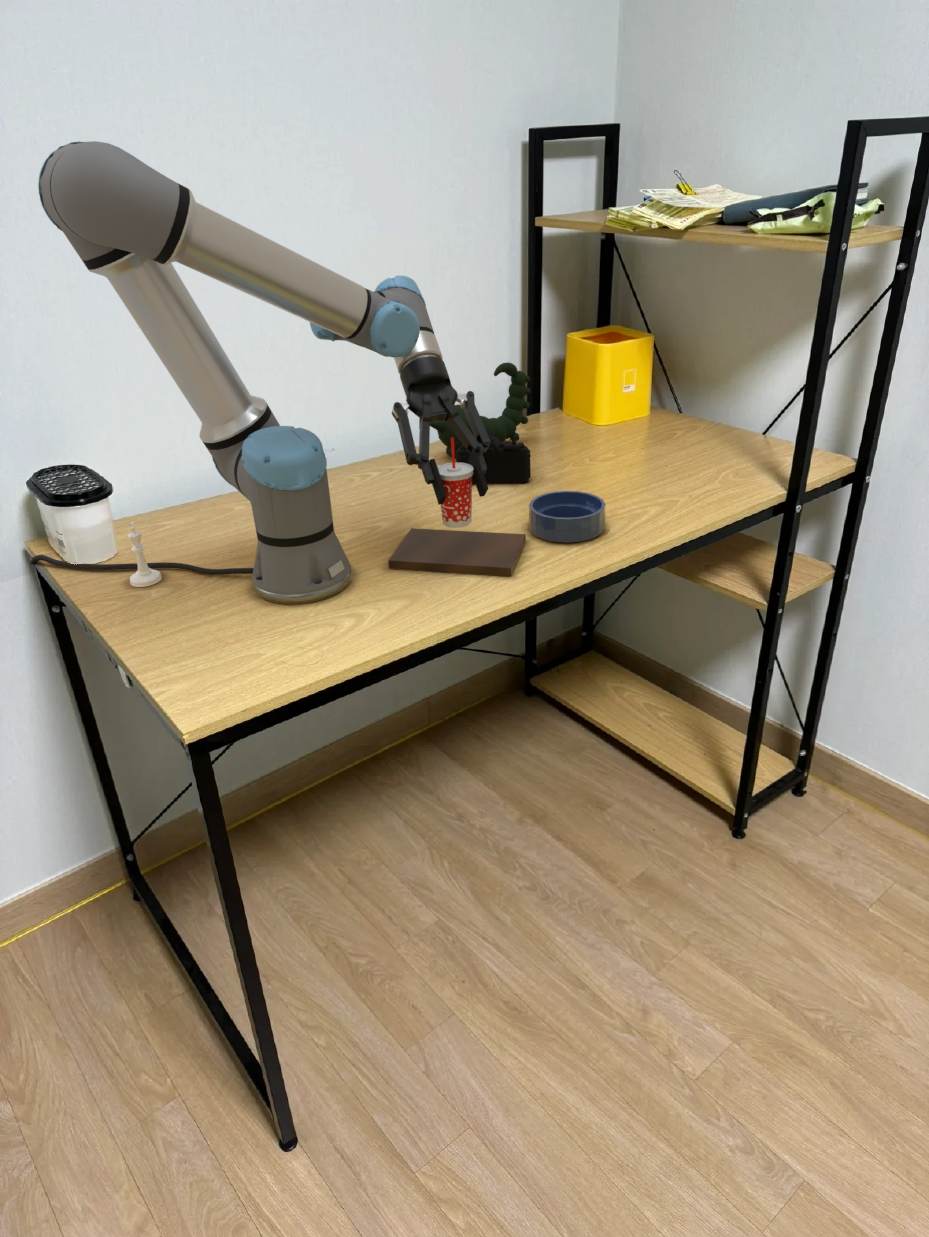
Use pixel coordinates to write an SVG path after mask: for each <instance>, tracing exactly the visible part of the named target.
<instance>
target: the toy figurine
mask: <svg viewBox="0 0 929 1237" xmlns="http://www.w3.org/2000/svg"><path fill="white" fill-rule="evenodd" d="M501 373H504V374H506V375H507V376H508V377H510V382H511V383H510V385H509V387H508V397H507V398H506V400H505V407H504V409H503V410H502V413H501V415H499V416H498V417H490V418H489V417H487V416H484V415H480V418H481V420H482V422H483V425H484V427H485V429H486V432H487V434H488V435H493V436H495V437H497V438H498V439H499V440H500V441H501V442H503V441H507V440H509V441H511V442H512V441H513V440H516V442H518V441H519V440H520V434H519V433H518V432H516V431H517V426H519V425H520V424H521V425H527V424H528V422H529V418H528V417H527V416H524V412H523V411H524V410H525V409H527V410H528V409H529V408H530V407H531V404H530V402H529V401H526V399H525V397H526V396H528V395H529V394H531V389H530V388H529V387H527V386H526V384H527V383H529V382H531V377H530V376H529V375H527V374H526V373H525V372H524V371H522V370H518V368H517V366H516V364H514V363H512V362H502V363H500V364H499V365H498V366H497V367H496V368H495V370H494V371H493V376H494V377H498V375H500V374H501ZM454 407H455V408H456V409H457V411H458V414H459V416H460V418H461V419H462V420H463V422H464V423H465V424H466V426H467V427H468V429H469V430H470V431H471V433H472V434H473V432H472V430H471V428H470V425H469V423H468V420H467V418H466V416H465V413H464V409H462V408H461V406H460V404H455V405H454ZM430 428H432V429H434V430H436V431H437V435H438V440H440V442H441V443H442V444H443V445H444V446H445V447H446V448H445V454H446V456H448V458H451V459H452V451H451V437H454V450H457V449H458V448H460V445H461V444H462V443H461V441H460V440H459V439H458V437H457V436H456V434H455V433H454V432H453V430H452V429H451V427H450V426H448V425H447V424H446V423H445V422H444V421H434V422H431V423H430ZM473 436H474V435H473ZM455 460H456V453H455Z"/></svg>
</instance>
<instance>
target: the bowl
mask: <svg viewBox="0 0 929 1237" xmlns="http://www.w3.org/2000/svg"><path fill="white" fill-rule="evenodd" d="M606 506H607V504H606V502H605V501H604V499H603V498H601V497H600V496H598V495H596V494H593V493H589V492H586V491H579V490H557V491H551V492H546V493H543V494H540V495H537V496H535V497H533V499H531V500H530V502H529V504H528V528H529V531H530V533H531V534H532V535H534V536H535V537H537V538H539V539H542V540H545V541H549V542H554V543H578V542H584V541H589V540H592V539H594V538H597V537H599V536H600V535H602V534H603V533H604V531H605V528H606V508H607V507H606Z"/></svg>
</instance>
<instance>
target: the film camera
mask: <svg viewBox="0 0 929 1237" xmlns="http://www.w3.org/2000/svg"><path fill="white" fill-rule="evenodd" d="M488 436H489V439H490V441H491V444H490V446H489V448H488V449H487V451H486V452H485V453H482V454H483V457H484V460H485V463H486V466H487V470H486V472H485V474H484V476H485V479H486V482H487V485H513V484H526V483H528V482H529V481H530V479H531V478H532V477H531V475H532V473H531V469H532V468H531V450H530V449H529V447H528V446H526V445H525V443H524V442H518V443H517V441H516V440H513V441H511V440H505V441H503V442H501V441H500V440H499V439H498V438H497V437H495V436H493V435H488ZM455 453H456V459H455V462H456V463H466V464H469V463H468V458H469V456H470V454H469V453H468V451H467V450H466V448H465V447H464V446H463V444H461V445H460V448H458V449H457V450H455ZM472 485H476V484H475V481H474V478H473V475H472Z"/></svg>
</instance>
